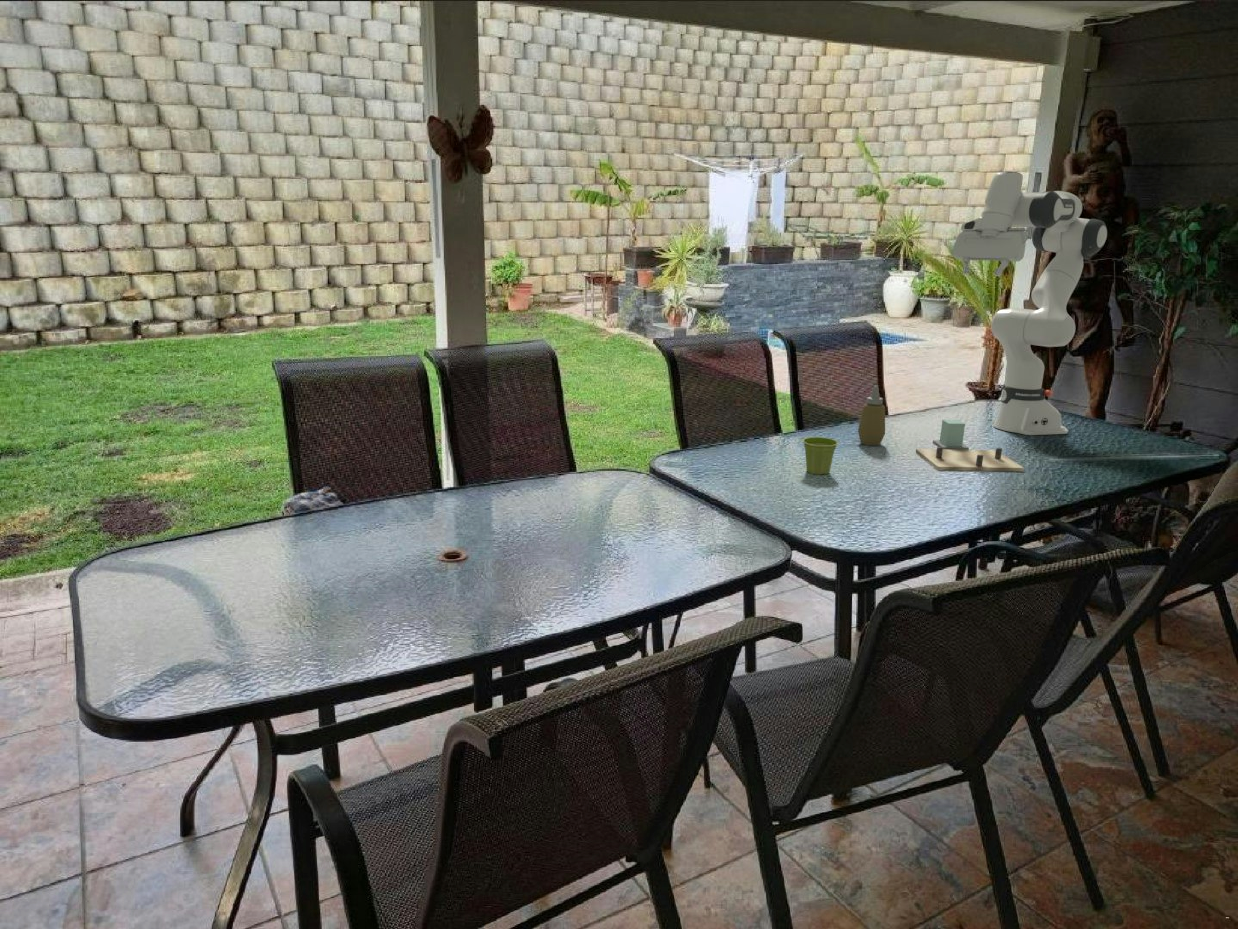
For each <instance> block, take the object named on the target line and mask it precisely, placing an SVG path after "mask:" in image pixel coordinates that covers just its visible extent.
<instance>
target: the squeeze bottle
mask: <svg viewBox="0 0 1238 929" xmlns="http://www.w3.org/2000/svg"><path fill="white" fill-rule="evenodd" d="M879 389H880V388H879V386H878V385H874V386H873V389H872V391H871V394H870V396H867V397H866V403H865V404H862V409H861V414H860V418H859V419H860V420H859V424H858V428H857V433H858V437H859V441H860V444H862V445H865V446H873V447H874V446H880V445H881V443H882V441H883V439H884V437H885V435H886V407H885V406H884V404H883V403H884V402H883V400H884V399H883V397H880V390H879Z"/></svg>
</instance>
